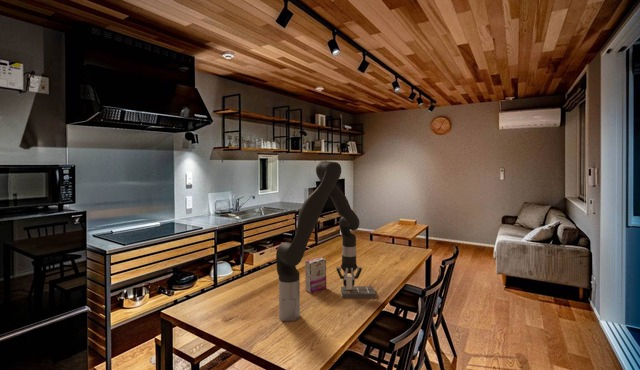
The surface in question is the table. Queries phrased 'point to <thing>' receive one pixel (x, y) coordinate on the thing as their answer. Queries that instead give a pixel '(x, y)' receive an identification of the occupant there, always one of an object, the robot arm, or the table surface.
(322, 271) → the candy bar box
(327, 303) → the table surface
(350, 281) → the fader knob
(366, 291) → the fader console
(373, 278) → the table surface
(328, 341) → the table surface
